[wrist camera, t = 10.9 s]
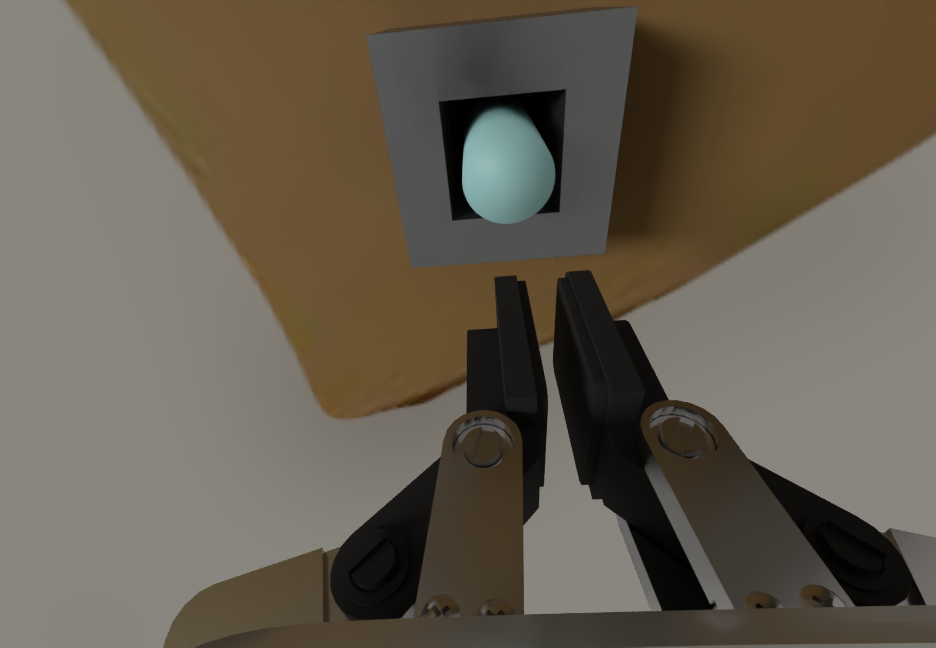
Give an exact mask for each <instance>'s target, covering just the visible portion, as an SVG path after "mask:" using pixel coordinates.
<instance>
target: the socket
mask: <svg viewBox="0 0 936 648" xmlns="http://www.w3.org/2000/svg"><path fill="white" fill-rule="evenodd" d="M637 10H638V6H630V7H593V8H584V9H574V10H565V11H555V12H546V13H537V14H527V15H518V16H509V17H499V18H490V19H481V20H471V21H462V22H453V23H443V24H434V25H425V26H415V27H406V28H397V29H389V30H385V31H381V32H377V33H373V34H369V35H366V37H367V42H368V48H369V53H370V58H371V63H372V68H373V73H374V78H375V83H376V89H377V94H378V99H379V104H380V109H381V114H382V119H383V124H384V129H385V135H386V140H387V145H388V150H389V155H390V160H391V165H392V170H393V176H394V181H395V186H396V191H397V196H398V201H399V206H400V211H401V217H402V222H403V227H404V232H405V237H406V242H407V247H408V252H409V258H410V263H411V268H416V267H430V266H443V265H457V264H471V263H484V262H498V261H511V260H525V259H539V258H552V257H566V256H579V255H593V254H605V249H606V242H607V234H608V227H609V219H610V212H611V204H612V197H613V189H614V182H615V174H616V167H617V160H618V152H619V145H620V137H621V130H622V122H623V115H624V107H625V100H626V92H627V85H628V77H629V70H630V62H631V55H632V47H633V40H634V32H635V25H636V17H637ZM542 91H545V97H544V136H543V141H544V143H545V145H546V146H547V148H548V150H549V152H550V154H551V156H552V158H553V162H554V166H555V183H554V187H553V190H552V193H551V195H550V197H549V199H548V201H547V202H546V203H545V205H544V206H543V207H542V208H541V209H540V210H539V211H538V212H537V213H536V214H534V215H533V216H531V217H530V218H528V219H526V220H523V221H521V222H517V223H511V224H500V223H495V222H492V221H489V220H487V219H485V218H483V217H481V216H480V215H479V214H477V213H476V212H475V211H474V210H473V209H472V207H471V206H470V205H469V203H468V201H467V199H466V197H465V194H464V191H463V185H462V180H458V181H456V179H455V169H454V160H453V150H452V141H451V131H450V121H449V112H448V102H447V101H448V100H459V99H469V98H479V97H490V96H500V95H510V94H521V93H531V92H542Z"/></svg>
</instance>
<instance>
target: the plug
mask: <svg viewBox="0 0 936 648" xmlns="http://www.w3.org/2000/svg"><path fill="white" fill-rule="evenodd" d="M554 183H555V166H554V162H553V158H552V156H551V154H550V152H549V150H548V148H547V146H546V145H545V143H544V141H543V139H542V138H541V136H540V134H539V132H538V130H537V129H536V127H535V125H534V123H533V121H532V120H531V118H530V116H529V114H528V113H527V111H526V109H525V107H524V106H523V105H522V104H521V102H520V101H518V100H517V99H516V98H514V97H513V96H510V95H500V96H490V97H483V98H481V99H480V100H478V101H477V102H476V103H475V104H474V105H473V106H472V108H471V109H470V111H469V113H468V115H467V118H466V121H465V127H464V147H463V170H462V185H463V191H464V194H465V197H466V199H467V201H468V203H469V205H470V206H471V207H472V209H473V210H474V211H475V212H476V213H477V214H479V215H480V216H481V217H483V218H485V219H487V220H489V221H492V222H495V223H500V224H511V223H517V222H521V221H523V220H526V219H528V218H530V217H531V216H533V215H534V214H536V213H537V212H538V211H539V210H540V209H541V208H542V207H543V206H544V205H545V203H546V202H547V201H548V199H549V197H550V195H551V193H552V190H553V187H554Z"/></svg>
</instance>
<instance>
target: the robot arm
mask: <svg viewBox="0 0 936 648" xmlns="http://www.w3.org/2000/svg"><path fill="white" fill-rule="evenodd" d="M495 296H496V315H497V328H493V329H478V330H468V332H467V414H464V415H462V416H461V417H459V418H458V419H457V420H455V421H454V422H453V423H452V424H451V426H450V427H449V428H448V429H447V432H446V435H445V437H444V441H443V447H442V453H441V457H440V458H439V459H438V460H437V461H435V462H434V463H433V464H432V465H431V466H430V467H429V468H427V469H426V470H425V471H424V472H423V473H422V474H420V475H419V476H418V477H417V478H416V479H415V480H414V481H412V482H411V483H410V484H409V485H408V486H407V487H406V488H404V489H403V490H402V491H401V492H400V493H399V494H398V495H397V496H395V497H394V498H393V499H392V500H391V501H390V502H389V503H387V504H386V505H385V506H384V507H383V508H382V509H380V510H379V511H378V512H377V513H376V514H375V515H374V516H372V517H371V518H370V519H369V520H368V521H367V522H365V523H364V524H363V525H362V526H361V527H360V528H359V529H357V530H356V531H355V532H354V533H353V534H352V535H351V536H350V537H349V538H348V539H347V540H346V541H345V543H344V544H343V545H342V546H341V547H339V548H336V549H333V550H330V551H327V552H325V551H324V550H323V548H320V549H317V550H314V551H312V552H309V553H306V554H303V555H300V556H297V557H294V558H291V559H288V560H285V561H282V562H279V563H276V564H273V565H270V566H267V567H264V568H261V569H258V570H255V571H252V572H249V573H246V574H243V575H241V576H237V577H234V578H231V579H229V580H225V581H222V582H220V583H216V584H214V585H212V586H210V587H208V588H206V589H204V590H202V591H200V592H199V593H198V594H197V595H195V596H194V597H193V598H192V599H191V600H190V601H189V602H188V603H186V604H185V605H184V607H183V608H182V609H181V611H180V612H179V614H178V615H177V616H176V618H175V619H174V621H173V622H172V625H171V627H170V629H169V632H168V635H167V637H166V640H165V643H164V647H163V648H936V538H935V537H930V536H925V535H920V534H916V533H911V532H906V531H901V530H897V529H892V528H889V529H888V530H887V531H886V532H885V533H882V532H879V531H878V530H877V529H875V528H874V527H873V526H871V525H870V524H868V523H867V522H865V521H863V520H862V519H860V518H859V517H857V516H855V515H853V514H851V513H850V512H848V511H846V510H844V509H842V508H840V507H838V506H836V505H834V504H832V503H831V502H829V501H827V500H825V499H823V498H821V497H819V496H817V495H815V494H813V493H812V492H810V491H808V490H806V489H804V488H802V487H800V486H798V485H796V484H794V483H793V482H791V481H789V480H787V479H785V478H783V477H781V476H779V475H777V474H775V473H774V472H772V471H770V470H768V469H766V468H764V467H762V466H760V465H758V464H756V463H755V462H753V461H751V460H749V459H748V458H747V457H746V456H745V454H744V453H743V452H742V450H741V449H740V447H739V446H738V445H737V444H736V442H735V441H734V439H733V438H732V437H731V436H730V434H729V432H728V431H727V430H726V428H725V427H724V426H723V425H722V424H721V423H720V422H719V420H718V419H717V418H716V417H715V416H714V415H712V414H710V413H709V412H708V411H706V410H705V409H703V408H701V407H698V406H696V405H694V404H691V403H688V402H682V401H678V400H669V399H668V398H667V396H666V394H665V392H664V390H663V388H662V386H661V384H660V382H659V380H658V378H657V376H656V374H655V372H654V370H653V368H652V367H651V364H650V362H649V360H648V358H647V356H646V355H645V352H644V350H643V348H642V346H641V344H640V342H639V341H638V338H637V336H636V335H635V333H634V331H633V329H632V327H631V325H630V323H629V322H628V321H626V320H618V321H613V319H612V317H611V314H610V312H609V310H608V308H607V306H606V304H605V301H604V299H603V297H602V295H601V293H600V290H599V288H598V286H597V284H596V282H595V280H594V277H593V275H592V273H591V271H589V270H586V271H572V272H566V275H565V278H558V281H557V296H556V314H555V332H554V349H553V367H554V373H555V377H556V381H557V386H558V390H559V394H560V399H561V403H562V408H563V412H564V416H565V421H566V424H567V429H568V434H569V438H570V442H571V446H572V451H573V455H574V460H575V464H576V468H577V472H578V477H579V481H580V483H581V485H589V488H590V492H591V496H592V499H602V500H603V503H604V505H605V506H606V507H607V508H609V509H610V510H611V511H613V512H614V513H616V517H617V521H618V525H619V528H620V531H621V533H622V536H623V538H624V541H625V544H626V546H627V549H628V552H629V554H630V557H631V559H632V562H633V564H634V567H635V570H636V572H637V575H638V578H639V580H640V583H641V586H642V588H643V591H644V593H645V596H646V598H647V601H648V604H649V607H650V609H651V611H644V612H606V613H605V612H604V613H565V614H531V615H524V570H523V569H524V567H523V566H524V565H523V525H524V524H525V523H526V522H527V521H528V519H529V518H530V517H531V516H532V515H533V514H534V513H535V511H536V510H537V509H538V508H539V489H540V487H543V486H544V473H545V453H546V434H547V433H546V432H547V415H548V395H547V386H546V381H545V376H544V371H543V366H542V361H541V356H540V351H539V346H538V341H537V336H536V331H535V326H534V321H533V316H532V311H531V306H530V301H529V296H528V291H527V287H526V282H525V281H517V277H516V276H502V277H495Z"/></svg>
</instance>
